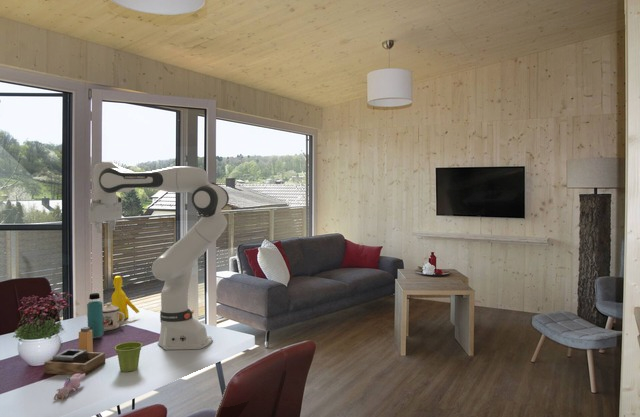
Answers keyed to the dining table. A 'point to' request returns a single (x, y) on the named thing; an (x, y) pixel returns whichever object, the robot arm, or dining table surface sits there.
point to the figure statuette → (121, 298)
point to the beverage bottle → (95, 315)
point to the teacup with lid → (111, 317)
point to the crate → (76, 365)
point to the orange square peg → (86, 339)
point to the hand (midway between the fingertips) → (106, 231)
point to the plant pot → (128, 355)
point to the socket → (71, 356)
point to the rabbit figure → (69, 386)
